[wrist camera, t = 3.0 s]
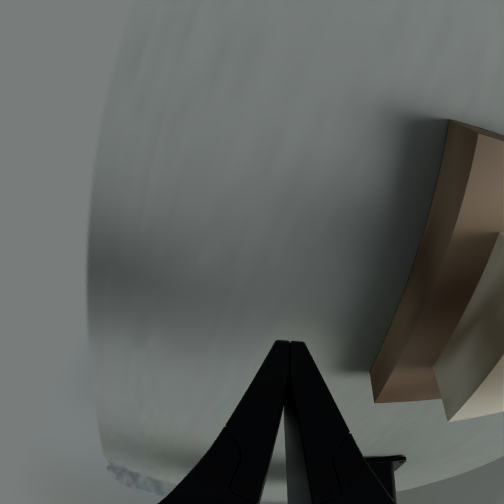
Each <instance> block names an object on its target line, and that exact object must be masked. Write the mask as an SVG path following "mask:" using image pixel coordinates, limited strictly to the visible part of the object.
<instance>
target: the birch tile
mask: <svg viewBox="0 0 504 504" xmlns="http://www.w3.org/2000/svg"><path fill="white" fill-rule="evenodd" d="M433 370H434V373H435V376H436V380H437V383H438V387H439V390H440V394H441V397H442V401H443V405H444V409H445V413H446V417H447V421H448V422H453V421H459V420H464V419H470V418H475V417H480V416H485V415H490V414H494V413H499V412H503V411H504V233H503V232H499V235H498V238H497V240H496V243H495V245H494V248H493V250H492V253H491V255H490V258H489V260H488V263H487V265H486V267H485V270H484V272H483V274H482V276H481V279H480V281H479V283H478V285H477V287H476V289H475V291H474V293H473V296H472V298H471V300H470V302H469V304H468V306H467V308H466V310H465V312H464V313H463V315H462V317H461V319H460V321H459V323H458V325H457V327H456V328H455V330H454V332H453V334H452V335H451V337H450V339H449V341H448V342H447V344H446V346H445V348H444V349H443V351H442V353H441V354H440V356H439V357H438V359H437V361H436V362H435V364H434V365H433Z"/></svg>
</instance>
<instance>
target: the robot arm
mask: <svg viewBox="0 0 504 504" xmlns="http://www.w3.org/2000/svg"><path fill="white" fill-rule="evenodd" d="M283 406H284V429H285V450H286V472H287V497H288V504H397V503H396V489H395V478H394V471H395V470H397V469H398V468H399V467H400V466H401V465H402V464H404V463H405V462H406V457H395V458H385V459H372V460H365V459H364V457H363V455H362V453H361V452H360V450H359V448H358V446H357V444H356V442H355V440H354V438H353V436H352V434H351V433H349V432H350V431H349V429H348V427H347V425H346V423H345V421H344V419H343V417H342V415H341V413H340V411H339V409H338V407H337V405H336V403H335V401H334V399H333V397H332V395H331V393H330V391H329V389H328V387H327V385H326V384H325V382H324V380H323V378H322V376H321V374H320V372H319V370H318V368H317V366H316V364H315V362H314V360H313V358H312V356H311V354H310V352H309V350H308V348H307V346H306V344H305V343H304V342H301V341H291V342H289V341H286V340H276V341H275V343H274V344H273V346H272V348H271V350H270V351H269V353H268V355H267V357H266V358H265V360H264V362H263V363H262V365H261V367H260V369H259V370H258V372H257V374H256V375H255V377H254V379H253V381H252V382H251V384H250V386H249V387H248V389H247V391H246V392H245V394H244V396H243V397H242V399H241V401H240V402H239V404H238V406H237V407H236V409H235V410H234V412H233V414H232V415H231V417H230V419H229V420H228V422H227V423H226V425H225V426H226V427H224V428H223V429H222V431H221V433H220V434H219V436H218V437H217V439H216V440H215V442H214V443H213V444H212V446H211V447H210V449H209V450H208V451H207V453H206V454H205V455H204V456H203V457H202V459H201V460H200V461H199V462H198V463H197V465H196V466H195V467H194V468H193V469H192V470H191V471H190V472H189V473H188V474H187V476H186V477H185V478H184V479H183V480H182V481H181V482H180V483H179V484H178V485H177V486H176V487H175V488H174V489H173V490H172V491H171V492H170V493H169V494H168V495H167V496H166V497H165V498H164V499H163V500H162V501H160V502H159V503H158V504H260V500H261V496H262V493H263V489H264V485H265V482H266V478H267V474H268V470H269V466H270V462H271V458H272V454H273V450H274V446H275V442H276V438H277V433H278V429H279V425H280V420H281V416H282V411H283Z"/></svg>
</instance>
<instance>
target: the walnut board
mask: <svg viewBox="0 0 504 504" xmlns="http://www.w3.org/2000/svg"><path fill="white" fill-rule="evenodd" d="M499 232H503V233H504V136H503V135H500V134H497V133H494V132H491V131H488V130H485V129H482V128H478V127H475V126H472V125H468V124H465V123H461V122H458V121H454V120H450V119H449V125H448V131H447V136H446V142H445V147H444V152H443V157H442V162H441V167H440V171H439V176H438V180H437V185H436V189H435V193H434V197H433V201H432V205H431V208H430V212H429V216H428V219H427V223H426V226H425V230H424V233H423V236H422V240H421V243H420V246H419V249H418V252H417V256H416V259H415V262H414V265H413V268H412V270H411V273H410V276H409V279H408V282H407V285H406V287H405V290H404V293H403V296H402V298H401V301H400V303H399V306H398V309H397V311H396V314H395V316H394V319H393V321H392V323H391V326H390V328H389V331H388V333H387V335H386V338H385V340H384V342H383V345H382V347H381V349H380V351H379V353H378V356H377V358H376V360H375V362H374V364H373V366H372V369H371V371H370V377H371V384H372V391H373V397H374V403H390V402H407V401H420V400H431V399H441V398H442V397H441V394H440V390H439V387H438V383H437V380H436V376H435V373H434V370H433V365H434V364H435V362H436V361H437V359H438V357H439V356H440V354H441V353H442V351H443V349H444V348H445V346H446V344H447V342H448V341H449V339H450V337H451V335H452V334H453V332H454V330H455V328H456V327H457V325H458V323H459V321H460V319H461V317H462V315H463V313H464V312H465V310H466V308H467V306H468V304H469V302H470V300H471V298H472V296H473V293H474V291H475V289H476V287H477V285H478V283H479V281H480V279H481V276H482V274H483V272H484V270H485V267H486V265H487V263H488V260H489V258H490V255H491V253H492V250H493V248H494V245H495V243H496V240H497V238H498V235H499Z"/></svg>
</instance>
